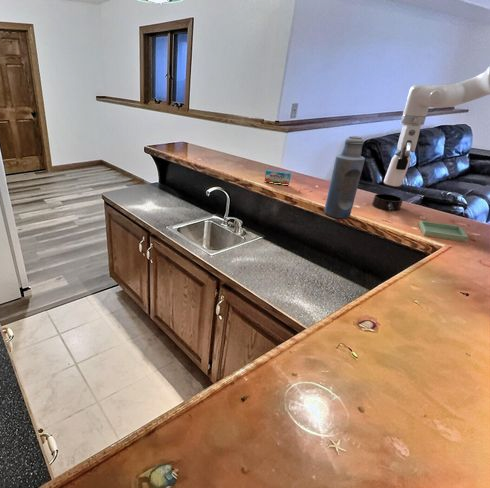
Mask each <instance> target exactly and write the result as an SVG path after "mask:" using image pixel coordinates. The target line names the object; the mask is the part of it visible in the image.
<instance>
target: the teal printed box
mask: <svg viewBox="0 0 490 488" xmlns="http://www.w3.org/2000/svg"><path fill="white" fill-rule="evenodd" d="M291 176H292V173H290V172H283V171H276V170H270V169H269V170H266V171H265V175H264V181H266V182H273V183H281V184H288V185H289V186H290V183H291ZM268 184H270V183H268ZM275 185H276V186H278V185H277V184H275Z"/></svg>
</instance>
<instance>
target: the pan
mask: <svg viewBox="0 0 490 488" xmlns="http://www.w3.org/2000/svg"><path fill="white" fill-rule="evenodd" d="M403 199H404V198H403V197H401V196H398V195H395V194H390V193H376V194H375V195H374V196H373V200H372V203H371V204H372V207H374V208H376V209H378V210H383V211H389V212H397V211H400V210H401V207H402V205H403V201H404V200H403Z"/></svg>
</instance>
